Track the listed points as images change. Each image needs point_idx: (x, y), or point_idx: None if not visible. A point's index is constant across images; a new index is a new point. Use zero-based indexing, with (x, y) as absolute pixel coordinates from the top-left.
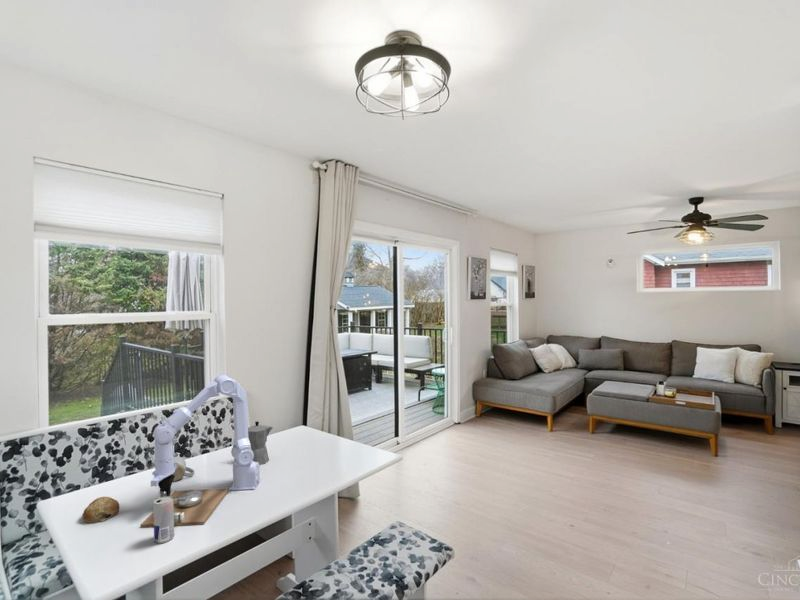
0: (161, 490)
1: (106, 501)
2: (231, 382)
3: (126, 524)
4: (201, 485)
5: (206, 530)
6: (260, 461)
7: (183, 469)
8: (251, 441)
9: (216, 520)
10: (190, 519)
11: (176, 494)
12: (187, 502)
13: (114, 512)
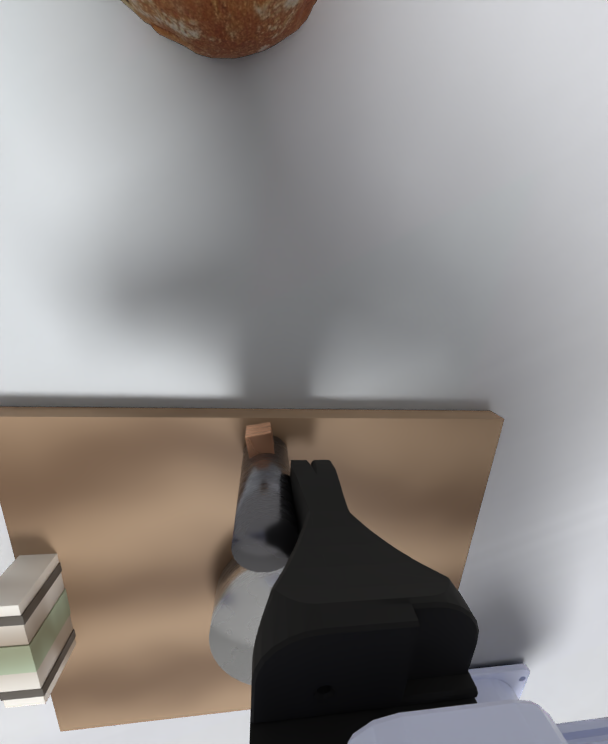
0: (301, 510)
1: None
2: None
3: (38, 266)
4: (548, 519)
5: (14, 737)
6: None
7: None
8: None
9: (115, 734)
10: (78, 670)
11: (438, 454)
12: (212, 646)
13: (163, 26)
